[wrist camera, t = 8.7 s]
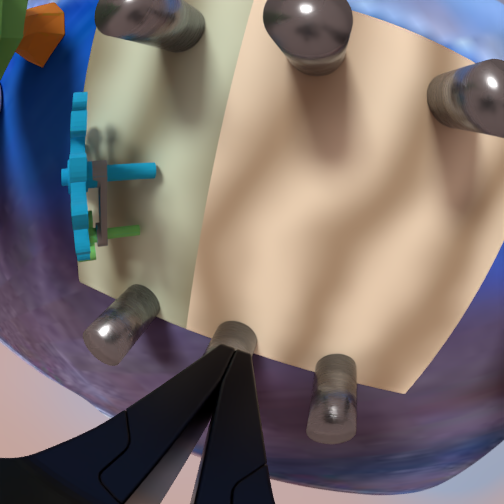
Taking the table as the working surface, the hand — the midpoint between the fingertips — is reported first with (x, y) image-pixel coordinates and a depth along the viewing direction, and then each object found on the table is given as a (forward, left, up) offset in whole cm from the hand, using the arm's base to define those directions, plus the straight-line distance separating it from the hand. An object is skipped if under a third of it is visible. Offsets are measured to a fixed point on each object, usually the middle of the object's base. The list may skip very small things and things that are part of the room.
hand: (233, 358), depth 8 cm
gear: (+12, 0, -12) cm, 17 cm away
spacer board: (+1, -1, -12) cm, 12 cm away
